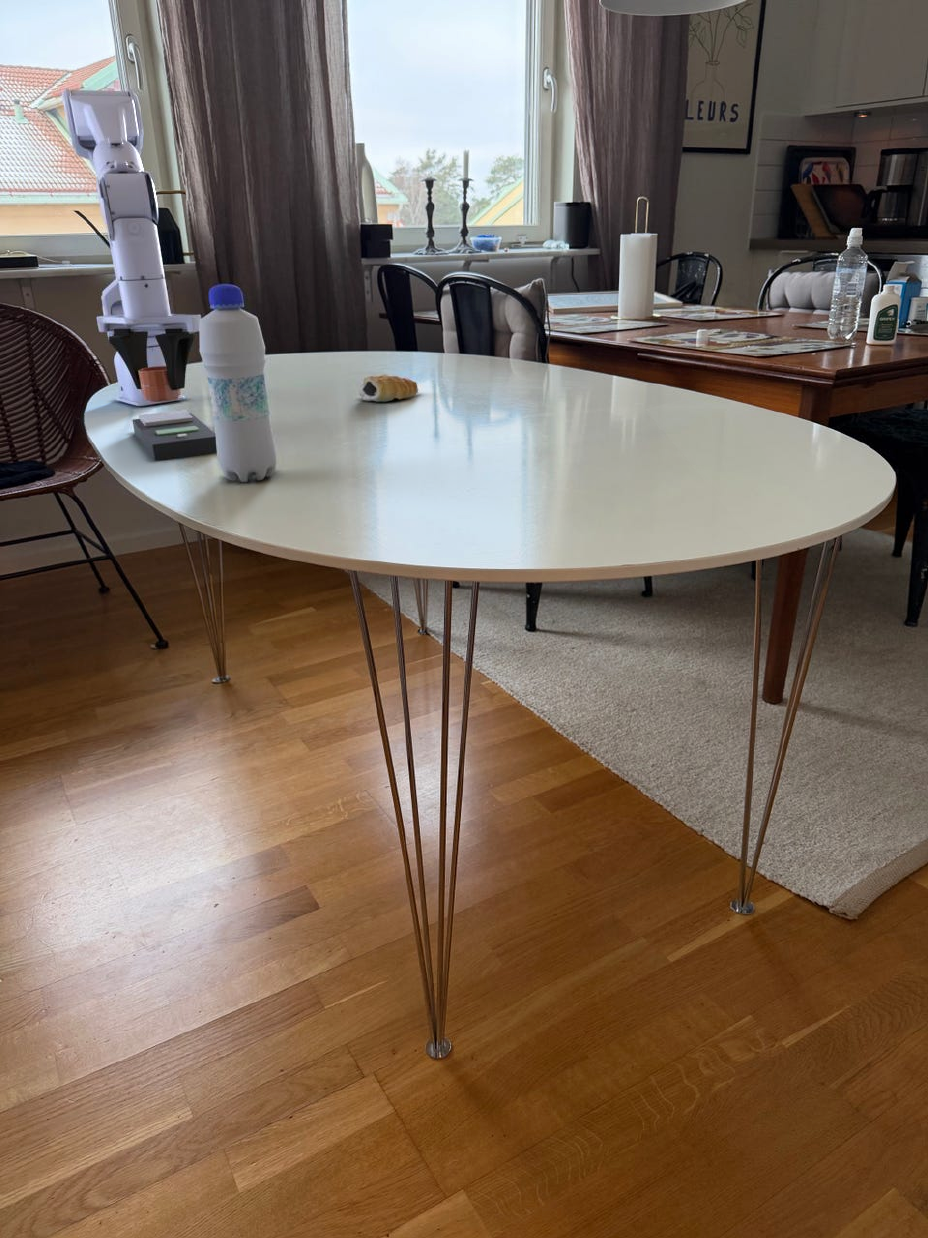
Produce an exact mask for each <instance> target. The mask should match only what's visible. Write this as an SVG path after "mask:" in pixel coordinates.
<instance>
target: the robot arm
mask: <svg viewBox="0 0 928 1238" xmlns="http://www.w3.org/2000/svg"><path fill="white" fill-rule="evenodd" d="M61 98H62V104H63V109H64V115H65V121H66V125H67V130H68V135H69V138H70V141H71V146H72V149H73V150H74V152H75V155H76V156H79V157H80V158H82V159H86V160H88V161H89V162H90V164H91V166H92V168H93V170H94V173H95V175H96V176H97V178H96V180H95V181H96V182H95V185H96V191H97V198H98V202H99V208H100V212H101V213H100V214H101V216H102V219H103V221H104V225H105V228H106V233H107V237H108V242H109V248H110V252H111V259H112V264H113V269H114V275H115V278H114V280H113V281H112V282H111V283H110V284H109V285H108V286H106V287H105V288H104V290H103V291H102V293H101V294H102V295H101V296H100V297H101V298H100V299H101V303H102V313H103V315H100V316H96V322H97V327H98V332H99V333H107V339H108V342H109V344H110V345H111V346H112V347H113V348H114V349H115V351H116V352H115V355H114V360H113V363H114V368H115V373H116V378H117V383H118V388H119V394H120V396H116V397H115V400H116V401H118V402H120V403H121V402H122V403H126V404H129V405H132V406H137V407H145V406H152V405H158V404H163V403H170V402H176V401H182V400H185V396H183V395H180V396H179V398H178V399H176V400H172V401H165V402H148V401H146V399H145V398H143V394H142V388H141V383H140V377H139V372H138V370H139V369H141V368H146V367H154V366H166V368H167V373H168V379H169V383H170V386H171V389H172V390H178V389H180V390H181V389H185V387H186V386H185V385H186V373H187V365H188V361H189V360H188V359H189V355H190V351H191V349H192V346H193V344H194V341H195V333H197V332H200V331H199V322H200V319H202V316H201V314H185V313H184V314H181V313H180V314H179V313H172V312H171V307H170V302H169V295H168V289H167V282H166V276H165V270H164V264H163V257H162V251H161V245H160V239H159V233H158V226H157V225H158V223H159V207H158V206H159V205H158V199H157V194H156V193H157V192H156V189H155V184H154V182H153V179H152V176H151V173H150V172H149V171H147V170H144V169H145V168H144V166H143V163H142V159H141V157H140V156H141V155H142V149H143V147H144V146H143V145H144V143H143V140H144V139H143V138H144V126H143V125H144V124H143V117H142V112H141V106H140V102H139V98H138V95H137V94H136V93H135V92H134V90H133V89H128V90H97V89H96V90H90V89H89V90H88V89H70V88H67V87H66V88H64V89H63V90H62V92H61ZM153 221H154V222H155V223H156V224H155V223H154V222H153ZM119 301H121V302H119Z"/></svg>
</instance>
